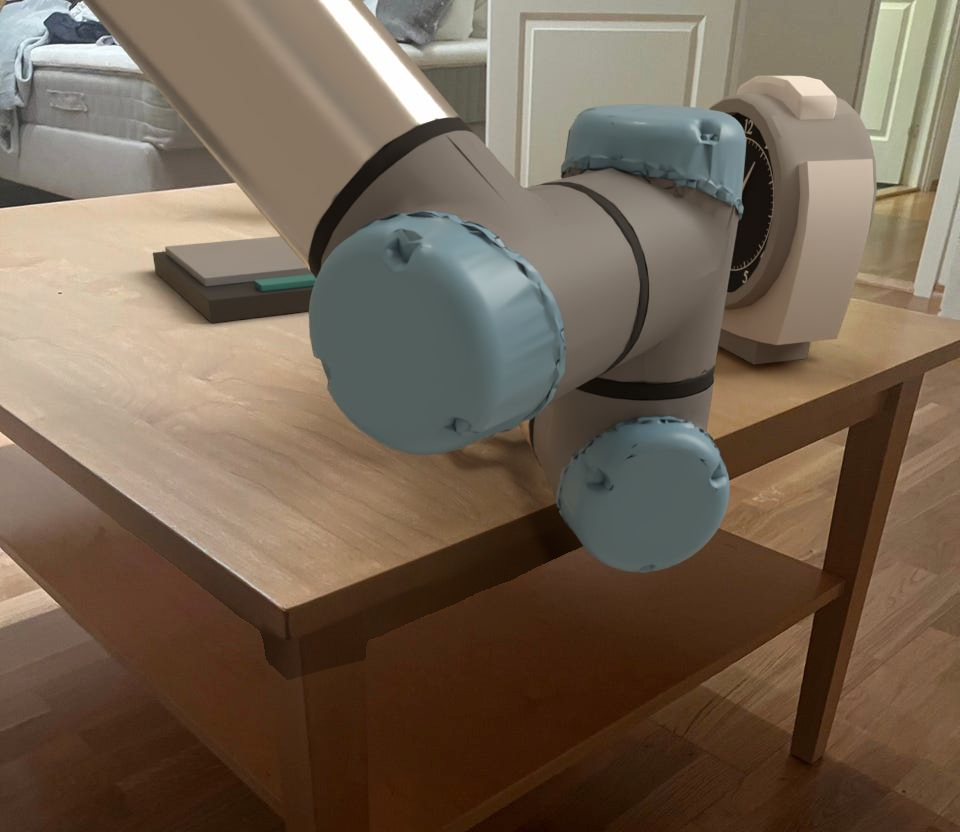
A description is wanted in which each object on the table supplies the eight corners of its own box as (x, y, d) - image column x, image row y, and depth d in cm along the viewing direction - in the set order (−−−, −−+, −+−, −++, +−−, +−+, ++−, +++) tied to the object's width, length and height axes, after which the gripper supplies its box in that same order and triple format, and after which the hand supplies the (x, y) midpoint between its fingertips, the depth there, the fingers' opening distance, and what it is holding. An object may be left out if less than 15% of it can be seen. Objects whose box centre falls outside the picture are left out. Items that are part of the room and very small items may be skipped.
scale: (155, 272, 103) (151, 244, 101) (302, 258, 110) (300, 231, 108) (211, 323, 88) (207, 290, 87) (377, 302, 95) (376, 272, 94)
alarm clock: (651, 318, 92) (680, 67, 81) (730, 311, 95) (768, 67, 84) (763, 380, 78) (816, 87, 67) (852, 370, 81) (917, 86, 70)
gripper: (363, 465, 58) (347, 352, 76) (771, 448, 61) (665, 343, 79) (357, 336, 54) (341, 247, 71) (795, 325, 57) (678, 243, 75)
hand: (511, 297), depth 75 cm, fingers open, 13 cm apart
